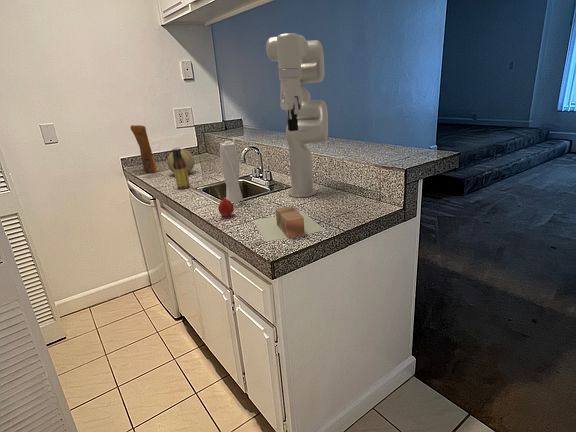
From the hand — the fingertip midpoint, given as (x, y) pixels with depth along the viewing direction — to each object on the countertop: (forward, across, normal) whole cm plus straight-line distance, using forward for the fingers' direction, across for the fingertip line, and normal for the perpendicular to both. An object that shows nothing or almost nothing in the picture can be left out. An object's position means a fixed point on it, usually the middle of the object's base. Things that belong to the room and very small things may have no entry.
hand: (293, 130), depth 126 cm
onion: (+31, -8, -26) cm, 41 cm away
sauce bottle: (+31, -60, -40) cm, 79 cm away
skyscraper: (+32, -24, -20) cm, 44 cm away
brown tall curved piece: (+31, -110, -58) cm, 128 cm away
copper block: (+28, +9, -8) cm, 30 cm away
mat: (+31, +11, -8) cm, 34 cm away
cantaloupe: (+31, -90, -39) cm, 103 cm away
